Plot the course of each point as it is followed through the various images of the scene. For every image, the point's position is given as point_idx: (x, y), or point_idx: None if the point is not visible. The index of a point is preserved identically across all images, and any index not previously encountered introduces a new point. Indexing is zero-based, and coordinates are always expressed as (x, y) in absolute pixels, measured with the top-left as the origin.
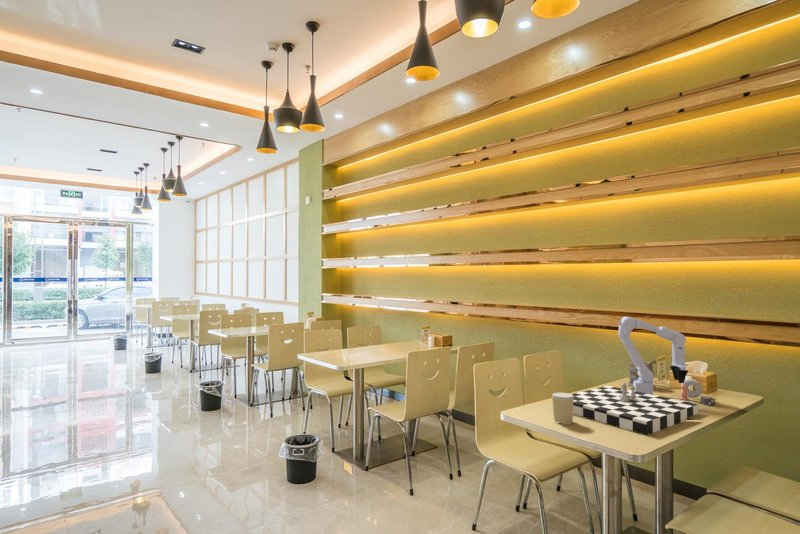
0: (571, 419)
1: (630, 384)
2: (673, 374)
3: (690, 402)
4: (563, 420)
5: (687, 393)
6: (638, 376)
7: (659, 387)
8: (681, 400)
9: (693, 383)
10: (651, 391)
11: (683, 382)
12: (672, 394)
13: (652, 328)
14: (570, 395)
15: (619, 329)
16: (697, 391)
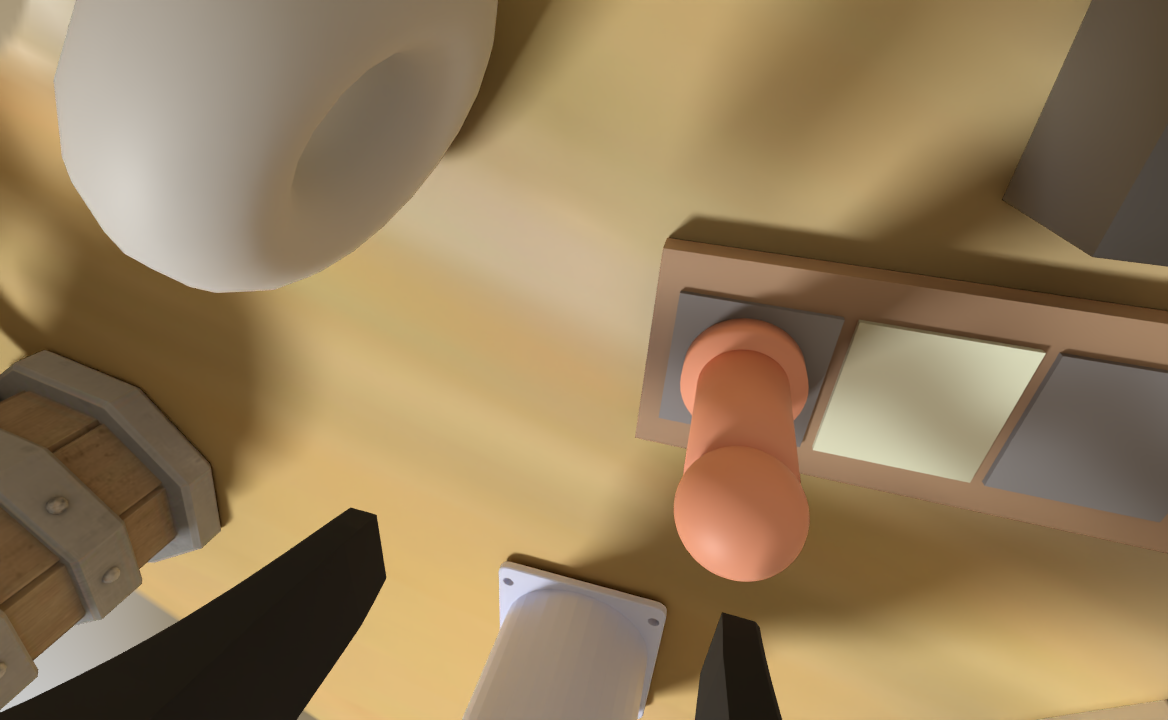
0: None
1: (171, 556)
2: (296, 714)
3: (967, 389)
4: None
5: (421, 182)
6: (77, 602)
7: (46, 288)
8: (815, 447)
9: (314, 116)
10: (625, 707)
11: (757, 648)
12: (346, 307)
13: None
14: None
15: None
16: (470, 26)
